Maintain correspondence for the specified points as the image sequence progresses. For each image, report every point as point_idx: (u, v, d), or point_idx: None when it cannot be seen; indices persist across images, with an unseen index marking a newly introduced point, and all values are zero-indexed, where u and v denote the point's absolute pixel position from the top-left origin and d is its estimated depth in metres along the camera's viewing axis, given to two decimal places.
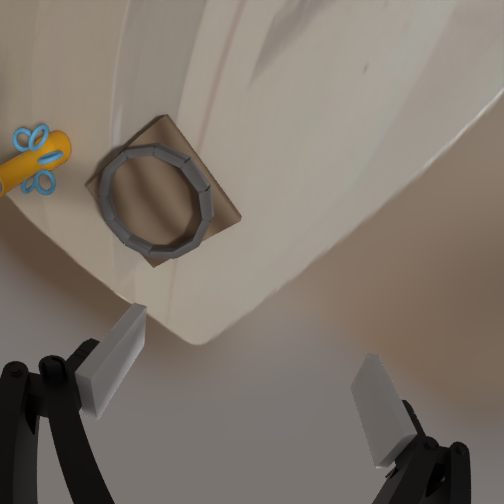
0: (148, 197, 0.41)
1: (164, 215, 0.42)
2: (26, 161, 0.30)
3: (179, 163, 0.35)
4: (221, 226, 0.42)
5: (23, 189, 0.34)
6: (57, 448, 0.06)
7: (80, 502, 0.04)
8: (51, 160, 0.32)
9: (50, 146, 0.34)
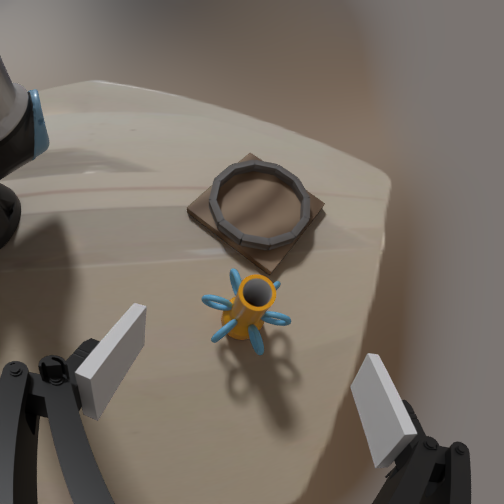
0: (258, 210, 0.51)
1: (269, 197, 0.53)
2: None
3: (217, 182, 0.50)
4: (259, 161, 0.56)
5: (282, 314, 0.37)
6: (57, 448, 0.06)
7: (80, 502, 0.04)
8: (234, 269, 0.39)
9: (230, 301, 0.41)
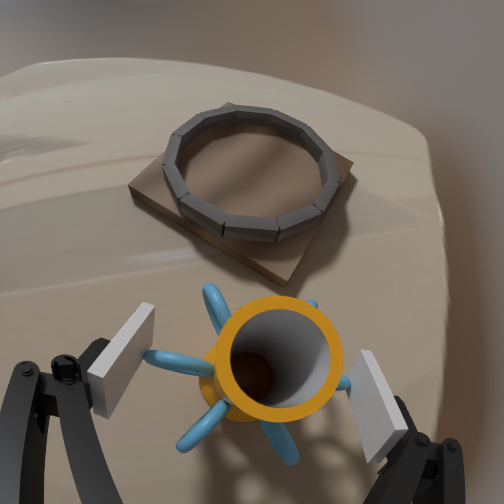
0: (249, 176, 0.29)
1: (265, 156, 0.31)
2: None
3: (176, 138, 0.28)
4: None
5: None
6: (67, 447, 0.06)
7: (88, 501, 0.05)
8: (210, 284, 0.17)
9: (211, 353, 0.18)
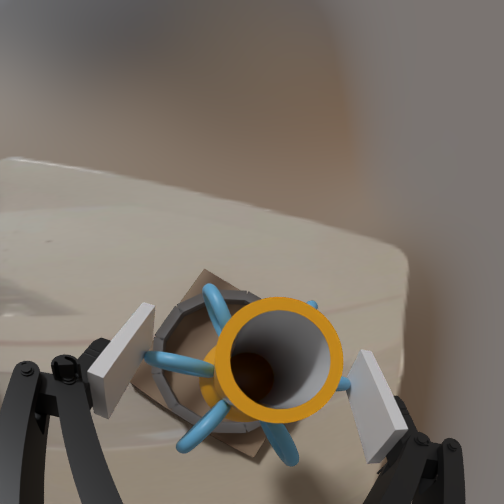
0: None
1: None
2: None
3: (158, 341, 0.32)
4: (219, 282, 0.39)
5: None
6: (67, 446, 0.06)
7: (88, 501, 0.05)
8: (210, 285, 0.17)
9: (211, 353, 0.18)
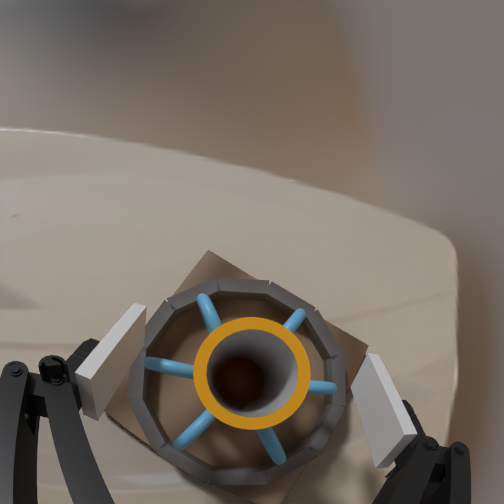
0: None
1: None
2: None
3: (139, 352, 0.21)
4: (228, 269, 0.28)
5: (319, 382, 0.15)
6: (57, 448, 0.06)
7: (80, 502, 0.04)
8: (203, 295, 0.18)
9: None
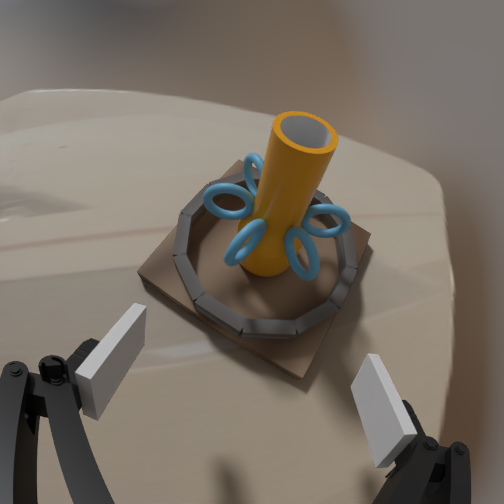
0: None
1: None
2: None
3: (185, 218, 0.28)
4: None
5: (338, 206, 0.22)
6: (57, 448, 0.06)
7: (80, 502, 0.04)
8: (251, 153, 0.24)
9: None
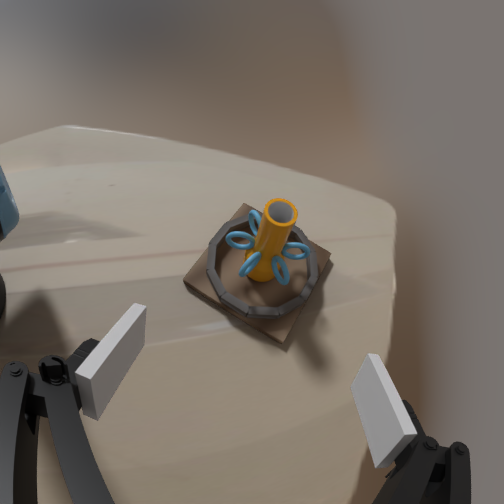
0: None
1: None
2: None
3: (212, 246, 0.46)
4: None
5: None
6: (57, 448, 0.06)
7: (80, 502, 0.04)
8: None
9: None
